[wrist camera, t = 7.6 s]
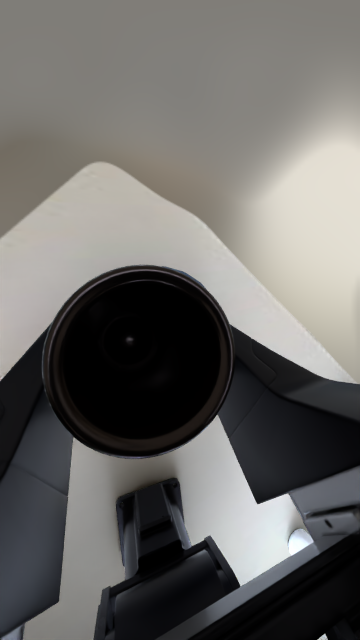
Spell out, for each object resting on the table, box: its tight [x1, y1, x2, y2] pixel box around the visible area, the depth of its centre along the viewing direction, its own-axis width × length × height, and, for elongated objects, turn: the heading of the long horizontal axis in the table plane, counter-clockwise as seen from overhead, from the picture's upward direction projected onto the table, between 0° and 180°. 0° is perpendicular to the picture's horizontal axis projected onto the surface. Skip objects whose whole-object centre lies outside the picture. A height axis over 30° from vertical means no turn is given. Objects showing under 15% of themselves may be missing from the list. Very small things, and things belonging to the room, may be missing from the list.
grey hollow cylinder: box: [42, 265, 235, 459], centre depth 10 cm, size 4×4×10 cm
